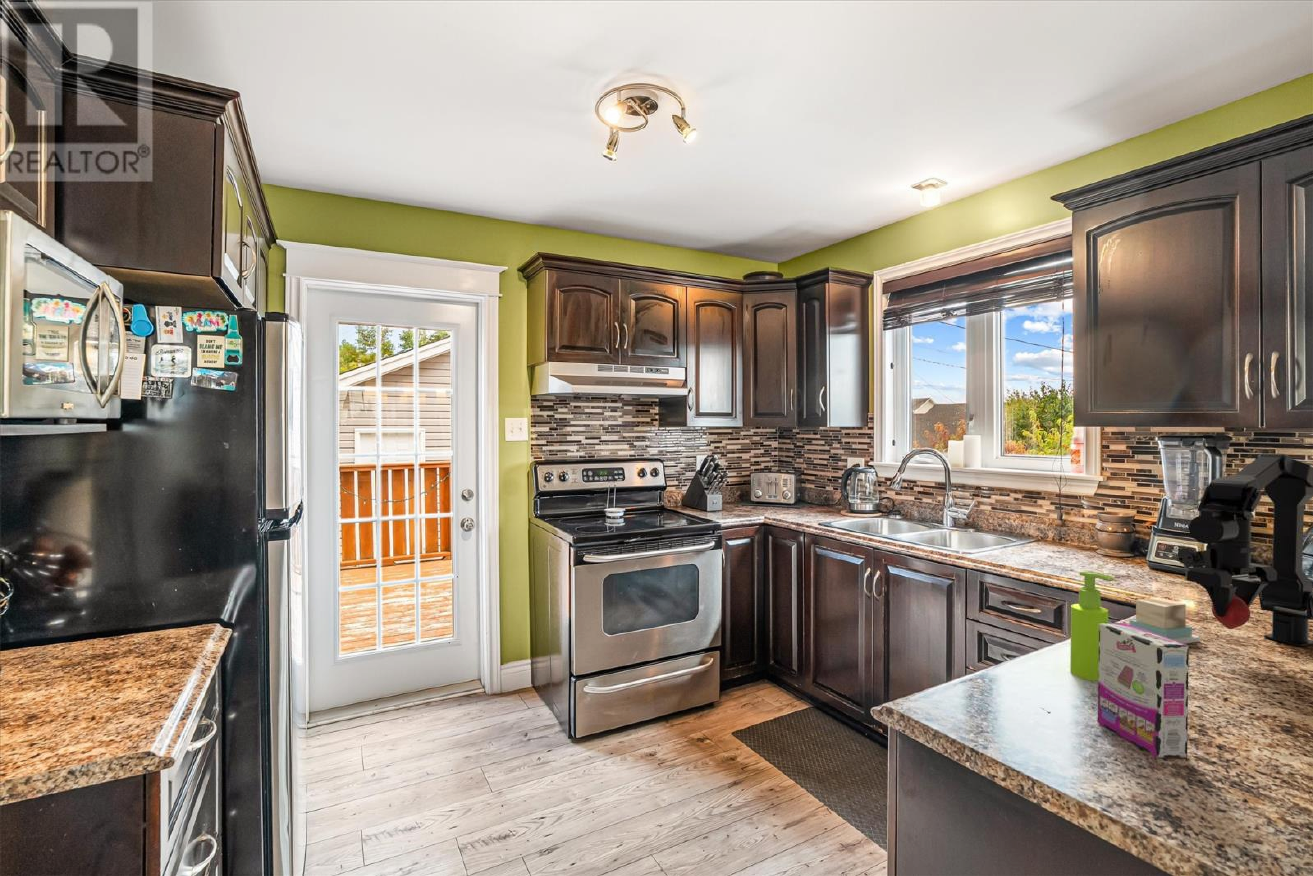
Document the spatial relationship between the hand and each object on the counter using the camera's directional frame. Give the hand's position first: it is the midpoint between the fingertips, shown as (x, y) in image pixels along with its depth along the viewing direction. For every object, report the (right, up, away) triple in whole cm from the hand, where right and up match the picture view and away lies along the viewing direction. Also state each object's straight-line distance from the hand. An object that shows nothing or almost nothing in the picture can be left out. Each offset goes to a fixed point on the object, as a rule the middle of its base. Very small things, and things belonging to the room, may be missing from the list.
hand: (1230, 615), depth 127 cm
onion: (0, -3, 0) cm, 3 cm away
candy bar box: (-46, -10, -34) cm, 58 cm away
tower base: (-3, -9, +14) cm, 17 cm away
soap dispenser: (-36, -9, -9) cm, 38 cm away
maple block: (-3, -6, +14) cm, 15 cm away
